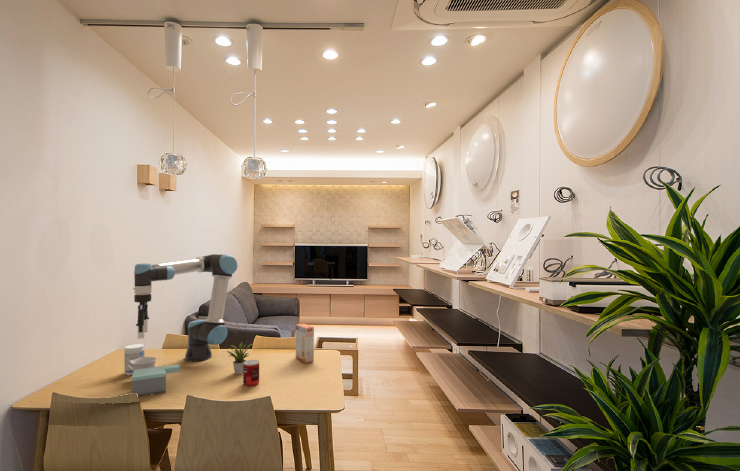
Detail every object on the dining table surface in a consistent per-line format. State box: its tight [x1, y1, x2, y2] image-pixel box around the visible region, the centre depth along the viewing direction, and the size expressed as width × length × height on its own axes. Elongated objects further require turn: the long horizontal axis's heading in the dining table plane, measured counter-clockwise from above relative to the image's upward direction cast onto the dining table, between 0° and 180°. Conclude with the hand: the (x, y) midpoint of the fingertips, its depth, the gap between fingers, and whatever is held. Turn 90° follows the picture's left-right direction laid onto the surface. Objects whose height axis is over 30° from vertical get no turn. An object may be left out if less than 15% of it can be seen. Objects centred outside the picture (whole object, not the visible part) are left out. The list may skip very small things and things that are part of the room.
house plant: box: [226, 342, 253, 375], centre depth 216 cm, size 14×14×16 cm
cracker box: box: [295, 322, 315, 364], centre depth 237 cm, size 14×6×21 cm, turn 34°
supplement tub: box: [123, 343, 145, 376], centre depth 214 cm, size 10×10×15 cm
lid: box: [131, 364, 180, 382], centre depth 190 cm, size 20×12×2 cm, turn 117°
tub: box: [131, 375, 167, 398], centre depth 189 cm, size 14×11×8 cm
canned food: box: [242, 359, 260, 387], centre depth 199 cm, size 8×8×11 cm
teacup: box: [127, 356, 158, 372], centre depth 205 cm, size 12×15×10 cm
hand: (142, 335), depth 198 cm, fingers open, 13 cm apart
